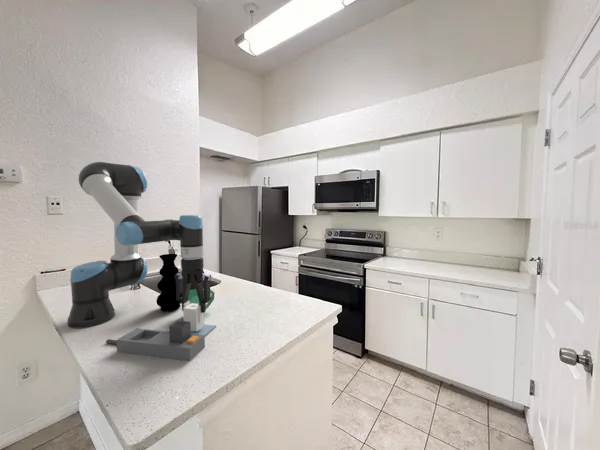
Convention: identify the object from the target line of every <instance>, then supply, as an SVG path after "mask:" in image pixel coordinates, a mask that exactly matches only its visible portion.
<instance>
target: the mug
mask: <svg viewBox="0 0 600 450" xmlns="http://www.w3.org/2000/svg"><path fill="white" fill-rule="evenodd" d="M210 292H211V300H210V301H209V302H207V303H206V310H207V309H208V308H209V307H210V306H211V304H212V303H213V301H214V300H215V291H214V290H213V289H210ZM188 299H189V300H188V301H190V304H191V303H195V304H199V299H198V295H197V291H196V288H195V289H190V292H189V297H188ZM180 305H182V303H181V304H180Z"/></svg>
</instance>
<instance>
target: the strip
mask: <svg viewBox="0 0 600 450" xmlns="http://www.w3.org/2000/svg"><path fill="white" fill-rule="evenodd" d="M168 329H169V330H159V329H149V328H148V329H147V328H140V327H139V328H138V327H137V328H135V329H132V331H129V332H128V333H126V334H124V335H123V336H120V337H118V338H117V339H106V340H105V343H106V344H111V345H116V352H117V353H122V354H123V353H124V354H130V355H138V356H139V355H140V356H141V355H142V356H147V357H156V358H164V359H173V360H178V361H179V360H181V361H190V362H191V361H192V360H193V359H194V358H195V357H196V356H197V355H198V354H199V353H200V352H201V351H202V350H204V348H205V347H206V343H205V341H206V340H205V338H206V337H205V335H200V334H191V324H190V322H187V321H184V320H177V321H176V322H175V323H173V324H171V325H170V326H168Z"/></svg>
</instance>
